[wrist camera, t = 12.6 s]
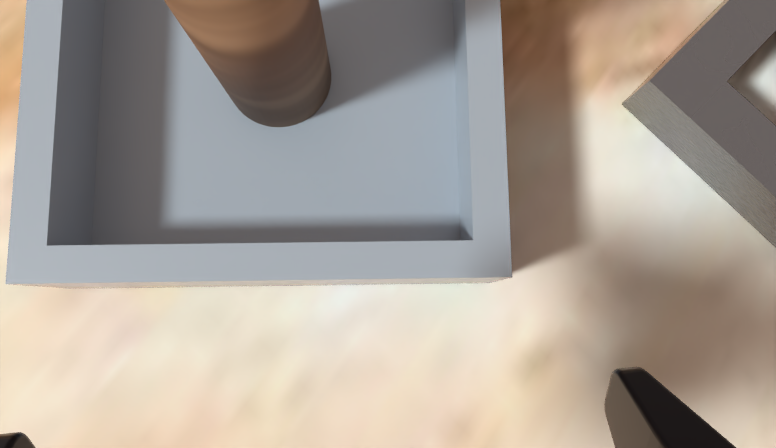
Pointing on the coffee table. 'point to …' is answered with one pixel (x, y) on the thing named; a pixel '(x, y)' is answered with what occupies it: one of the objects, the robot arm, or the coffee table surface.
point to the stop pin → (262, 54)
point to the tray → (260, 154)
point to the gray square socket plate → (717, 110)
